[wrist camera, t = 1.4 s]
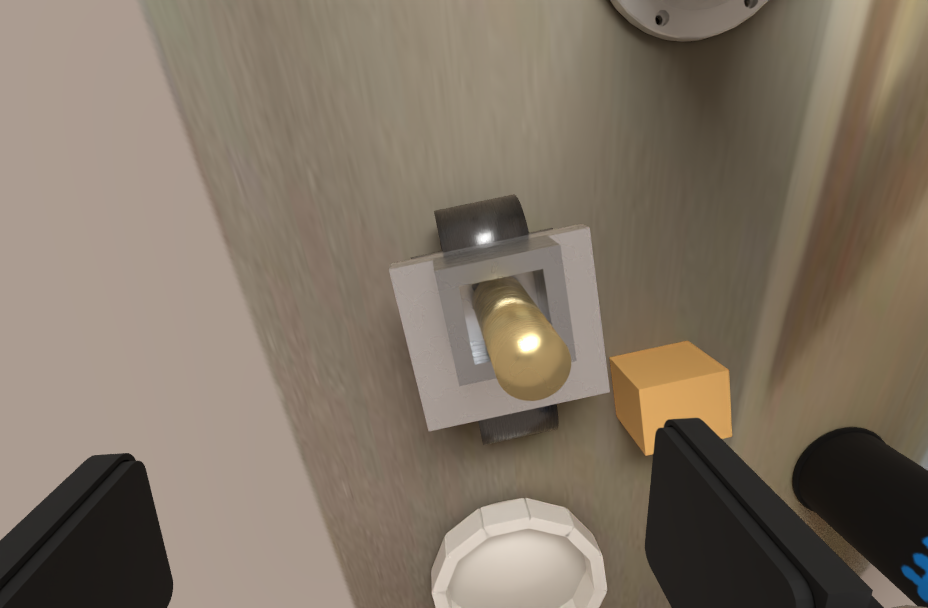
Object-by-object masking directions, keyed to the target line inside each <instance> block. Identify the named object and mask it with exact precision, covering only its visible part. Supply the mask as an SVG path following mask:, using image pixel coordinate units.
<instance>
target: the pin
mask: <svg viewBox="0 0 928 608" xmlns="http://www.w3.org/2000/svg"><path fill="white" fill-rule="evenodd" d="M472 304H473V309H474V312H475V315H476V318H477V321H478V324H479V327H480V330H481V333H482V336H483V339H484V342H485V345H486V348H487V351H488V354H489V357H490V360H491V363H492V366H493V369H494V372H495V375H496V378H497V380H498V383H499V384H500V386H501V387H502V389H503V390H504V391H505V392H506V393H508V394H509V395H510V396H512V397H514V398H517V399H519V400H524V401H537V400H541V399H545V398H547V397H549V396H551V395H553V394H554V393H556V392H557V391H558V390H559V389H560V388H561V387H562V386H563V385H564V383H565V382H566V380H567V378H568V376H569V374H570V370H571V355H570V352H569V349H568V347H567V346H566V344H565V343H564V341H563V340H562V339H561V337H560V336H559V335H558V333H557V332H556V331H555V329H554V328H553V327H552V325H551V324H550V323H549V321H548V320H547V319H546V317H545V316H544V315H543V313H542V312H541V311H540V309H539V308H538V307H537V305H536V304H535V303H534V301H533V300H532V298H531V297H530V296H529V294H528V293H527V292H526V290H525V289H524V288H523V286H522V285H521V284H520V283H519V282H518V281H517V280H516V279H514V278H513V277H510V276H507V277H502V278H497V279H493V280H488V281H483V282H481V283H480V284H479V285H478V286H477V288H476V289H475V292H474V294H473V299H472Z"/></svg>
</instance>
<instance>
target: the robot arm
mask: <svg viewBox="0 0 928 608" xmlns="http://www.w3.org/2000/svg"><path fill="white" fill-rule="evenodd" d="M610 1H611V2H612V4H613V5H614V7H615V8H616V10H617V11H618V12H619V13H620V14H621V15H623V16H624V17H625V18H626V19H627V20H628V21H629V22H630V23H631V24H632V25H634V26H636V27H637V28H639V29H640V30H642V31H643V32H645V33H647V34H650V35H652V36H655V37H658V38H661V39H664V40H672V41H680V42H685V41H695V40H702V39H705V38H709V37H712V36H715V35H718V34H721V33H723V32H725V31H727V30H730V29H732V28H734V27H736V26H738V25H739V24H741V23H742V22H744V21H745V20H747V19H748V18H750V17H751V16H753V15H754V14H755V13H756V12H757V11H758V10H759V9H760V8H761V7H762V6H763V5H764V4H765V3H766V2H767V1H769V0H610ZM744 1H745V3H746V4H744ZM655 17H657V18H658V19H659V24H658V25H657V24H656V21H655ZM645 551H646V556H647V560H648V563H649V565H650V567H651V569H652V571H653V573H654V575H655V577H656V579H657V581H658V582H659V584H660V586H661V588H662V590H663V592H664V594H665V596H666V598H667V599H668V601H669V603H670V605H671V607H672V608H884V607H882V605H881V604H880V603H878V601H877V600H876V599H875V598H874V597H873V596H872V591H873V590H872V589H871V588H870V587H869V586H868V585H867V584H866V583H865V582H864V581H863V580H862V579H861V578H860V577H859V576H858V575H857V574H856V573H855V572H854V571H853V570H852V569H851V568H850V567H849V566H848V565H847V564H846V563H845V562H844V561H843V560H842V559H841V558H840V557H839V556H838V555H837V554H836V553H835V552H834V551H833V550H832V549H831V548H830V547H829V546H828V545H827V544H826V543H825V542H824V541H823V540H822V539H821V538H820V537H819V536H818V535H817V534H816V533H815V532H814V531H813V530H812V529H811V528H810V527H809V526H808V525H807V524H806V523H805V522H804V521H803V520H802V519H801V518H800V517H799V516H798V515H797V514H796V513H795V512H794V511H793V510H792V509H791V508H790V507H789V506H788V505H787V504H786V503H785V502H784V501H783V500H782V499H781V498H780V497H779V496H778V495H777V494H776V493H775V492H774V491H773V490H772V489H771V488H770V487H769V486H768V485H767V484H766V483H765V482H764V481H763V480H762V479H761V478H760V477H759V476H758V475H757V474H756V473H755V472H754V471H753V470H752V469H751V468H750V467H749V466H748V465H747V464H746V463H745V462H744V461H743V460H742V459H741V458H740V457H739V456H738V455H737V454H736V453H735V452H734V451H733V450H732V449H731V448H730V447H729V446H728V445H727V444H726V443H725V442H724V441H723V440H722V439H721V438H720V437H719V436H718V435H717V434H716V433H715V432H714V431H713V430H712V429H711V428H710V427H709V426H708V425H707V424H706V423H705V422H704V421H703V420H701V419H700V418H683V419H668V420H667V421H666V422H665V424H664V428H658V429H657V431H656V434H655V442H654V453H653V463H652V474H651V485H650V495H649V506H648V517H647V527H646V538H645ZM172 592H173V579H172V575H171V571H170V566H169V562H168V558H167V554H166V550H165V546H164V542H163V538H162V534H161V530H160V526H159V521H158V517H157V514H156V509H155V505H154V501H153V497H152V493H151V489H150V485H149V480H148V477H147V472H146V468H145V466H144V464H143V463H142V462H141V461H136V460H135V458H134V457H133V456H132V455H131V454H129V453H123V454H107V455H95V456H91V457H90V458H88V459H87V460H86V461H85V462H83V464H81V465H80V466H79V467H78V468H77V469H76V470H75V471H74V472H73V473H72V474H71V475H70V476H69V477H68V478H66V479H65V480H64V481H63V482H62V483H61V484H60V485H59V486H58V487H57V488H56V489H55V490H54V491H53V492H52V493H50V494H49V495H48V497H46V498H45V499H44V500H43V501H42V502H41V503H40V504H39V505H38V506H37V507H36V508H34V509H33V510H32V511H31V512H30V513H29V514H28V515H27V516H26V517H25V518H24V519H23V520H22V521H21V522H20V523H18V524H17V525H16V526H15V527H14V528H13V529H12V530H11V531H10V532H9V533H8V534H7V535H6V536H5V537H4V538H3V539H1V540H0V608H167V606H168V605H169V602H170V600H171V596H172ZM893 608H927V607H919V606H909V605H905V606H899V607H893Z"/></svg>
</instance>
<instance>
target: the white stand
mask: <svg viewBox="0 0 928 608" xmlns="http://www.w3.org/2000/svg"><path fill="white" fill-rule="evenodd" d="M434 214H435V219H436V223H437V228H438V233H439V238H440V242H441V247H442V251H440V252H436V253H431V254H426V255H421V256H416V257H412V258H411V259H410V260H406V261H401V262H396V263H391V264H390V267H389V272H390V276H391V280H392V284H393V288H394V292H395V296H396V300H397V304H398V308H399V313H400V317H401V321H402V325H403V329H404V333H405V337H406V341H407V345H408V349H409V353H410V357H411V361H412V365H413V370H414V374H415V378H416V382H417V386H418V390H419V394H420V398H421V402H422V406H423V410H424V414H425V418H426V422H427V427H428V431H433V430H438V429H442V428H447V427H452V426H456V425H461V424H465V423H470V422H475V421H478V422H479V427H480V431H481V436H482V441H483V445H486V444H491V443H495V442H500V441H505V440H509V439H514V438H518V437H523V436H528V435H532V434H537V433H541V432H546V431H550V430H555V429H557V428H558V411H557V404H558V403H562V402H567V401H571V400H576V399H581V398H585V397H590V396H595V395H599V394H604V393H608V392H610V389H609V381H608V373H607V365H606V356H605V348H604V340H603V332H602V324H601V316H600V308H599V299H598V291H597V283H596V275H595V267H594V259H593V251H592V242H591V234H590V227H588V226H585V225H583V224H577V225H573V226H568V227H563V228H558V229H553V228H550V229H545V230H540V231H536V232H531V233H529V232H528V228H527V224H526V220H525V216H524V213H523V210H522V207H521V204H520V202H519V200H518V198H517V197H516V195H514V194H513V195H509V196H504V197H499V198H494V199H489V200H484V201H480V202H475V203H470V204H465V205H460V206H456V207H451V208H446V209H441V210H436V211H434ZM507 276H510V277H513V278H514V279H516V280H517V281H518V282H519V283H520V284H521V285H522V286H523V288H524V289H525V290H526V292H527V293H528V294H529V296H530V297H531V298H532V300H533V301H534V303H535V304H536V305H537V307H538V308H539V309H540V311H541V312H542V313H543V315H544V316H545V317H546V319H547V320H548V321H549V323H550V324H551V325H552V327H553V328H554V329H555V331H556V332H557V333H558V335H559V336H560V337H561V339H562V340H563V341H564V343H565V344H566V346H567V347H568V349H569V352H570V355H571V370H570V374H569V376H568V378H567V380H566V382H565V383H564V385H563V386H562V387H561V388H560V389H559V390H558V391H557V392H556V393H554V394H553V395H551V396H549V397H547V398H545V399H541V400H537V401H524V400H519V399H517V398H514V397H512V396H510V395H509V394H508V393H506V392H505V391H504V390H503V389H502V387H501V386H500V384H499V383H498V380H497V378H496V375H495V372H494V369H493V366H492V363H491V360H490V357H489V354H488V351H487V348H486V345H485V342H484V339H483V336H482V333H481V330H480V327H479V324H478V321H477V318H476V315H475V312H474V309H473V304H472V299H473V294H474V292H475V289H476V288H477V286H478V285H479V284H480V283H481V282H483V281H488V280H493V279H497V278H502V277H507Z"/></svg>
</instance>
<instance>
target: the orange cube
mask: <svg viewBox="0 0 928 608" xmlns="http://www.w3.org/2000/svg"><path fill="white" fill-rule="evenodd" d="M609 359H610V367H611V375H612V383H613V392H614V400H615V408H616V416H617V418H618V419H619V420H620V422H621V423H622V424H623V426H624V427H625V428H626V430H627V431H628V432H629V434H630V435H631V437H632V438H633V439H634V441H635V442H636V443H637V445H638V446H639V447H640V449H641V450H642V451H643V453H644V454H645V455H646V456H647V455H651V454H653V453H654V442H655V434H656V431H657V429H658V428H664V424H665V422H666V421H667V420H668V419H683V418H700V419H701V420H703V421H704V422H705V423H706V424H707V425H708V426H709V427H710V428H711V429H712V430H713V431H714V432H715V433H716V434H717V435H718V436H719V437H720V438H721V439H724V438H728V437H732V425H731V403H730V381H729V370H728V369H727V368H725V367H724V366H723V365H721V364H720V363H718V362H717V361H716V360H714V359H713V358H711V357H710V356H709V355H707V354H706V353H704V352H703V351H702V350H700V349H699V348H697V347H696V346H695V345H693V344H692V343H690V342H689V341H684V342H679V343H674V344H670V345H665V346H660V347H656V348H651V349H646V350H642V351H637V352H632V353H628V354H623V355H618V356H614V357H609Z"/></svg>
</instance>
